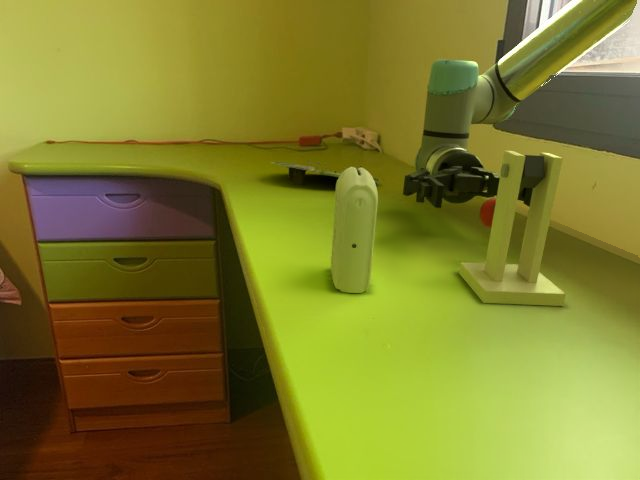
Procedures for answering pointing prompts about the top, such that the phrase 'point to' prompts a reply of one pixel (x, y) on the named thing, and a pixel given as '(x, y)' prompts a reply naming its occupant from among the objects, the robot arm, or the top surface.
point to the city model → (299, 170)
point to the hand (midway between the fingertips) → (492, 199)
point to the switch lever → (530, 179)
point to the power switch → (523, 279)
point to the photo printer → (353, 230)
